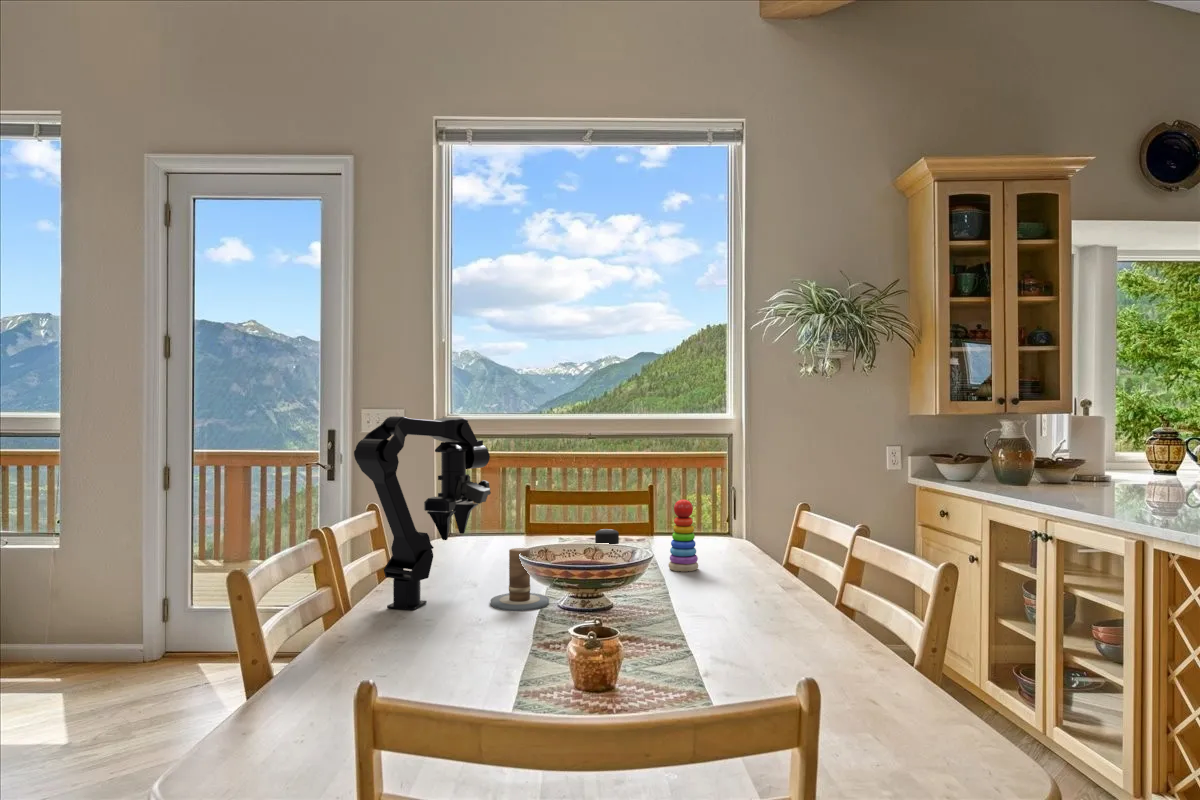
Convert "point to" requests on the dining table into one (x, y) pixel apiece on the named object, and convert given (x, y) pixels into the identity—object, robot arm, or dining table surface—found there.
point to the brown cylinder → (518, 576)
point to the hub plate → (506, 604)
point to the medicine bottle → (607, 536)
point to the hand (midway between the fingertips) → (453, 536)
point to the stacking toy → (683, 539)
